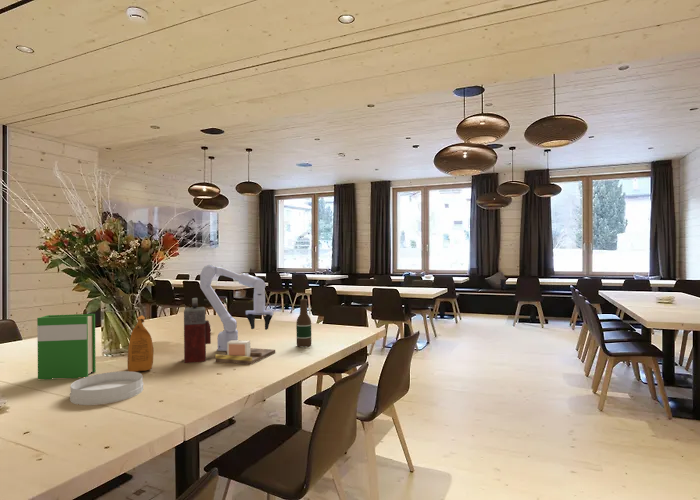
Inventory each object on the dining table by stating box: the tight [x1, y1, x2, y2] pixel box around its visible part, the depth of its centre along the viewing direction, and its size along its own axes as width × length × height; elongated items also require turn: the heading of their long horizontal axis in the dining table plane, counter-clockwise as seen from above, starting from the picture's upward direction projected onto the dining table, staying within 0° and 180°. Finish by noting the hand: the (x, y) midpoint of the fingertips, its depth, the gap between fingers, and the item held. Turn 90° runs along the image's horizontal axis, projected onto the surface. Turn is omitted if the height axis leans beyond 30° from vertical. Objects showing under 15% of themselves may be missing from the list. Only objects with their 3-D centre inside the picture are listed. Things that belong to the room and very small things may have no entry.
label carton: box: [227, 339, 251, 357], centre depth 190 cm, size 9×5×7 cm, turn 84°
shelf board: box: [214, 347, 276, 365], centre depth 196 cm, size 18×22×3 cm
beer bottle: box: [295, 298, 312, 348], centre depth 219 cm, size 8×8×24 cm
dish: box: [69, 370, 144, 406], centre depth 147 cm, size 22×22×5 cm
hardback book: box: [36, 313, 97, 380], centre depth 169 cm, size 18×7×24 cm, turn 98°
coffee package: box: [127, 315, 155, 373], centre depth 177 cm, size 10×12×22 cm
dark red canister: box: [183, 297, 212, 364], centre depth 192 cm, size 9×11×28 cm
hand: (259, 329), depth 215 cm, fingers open, 7 cm apart
